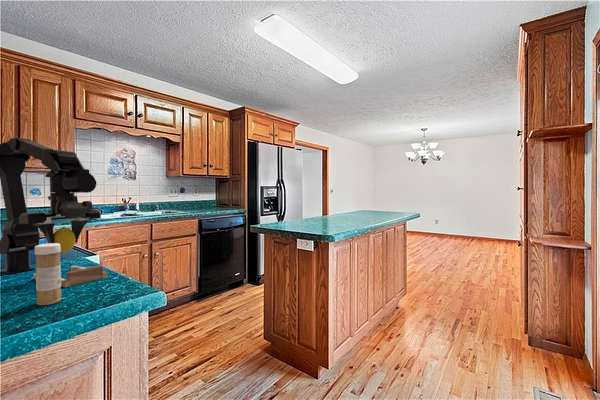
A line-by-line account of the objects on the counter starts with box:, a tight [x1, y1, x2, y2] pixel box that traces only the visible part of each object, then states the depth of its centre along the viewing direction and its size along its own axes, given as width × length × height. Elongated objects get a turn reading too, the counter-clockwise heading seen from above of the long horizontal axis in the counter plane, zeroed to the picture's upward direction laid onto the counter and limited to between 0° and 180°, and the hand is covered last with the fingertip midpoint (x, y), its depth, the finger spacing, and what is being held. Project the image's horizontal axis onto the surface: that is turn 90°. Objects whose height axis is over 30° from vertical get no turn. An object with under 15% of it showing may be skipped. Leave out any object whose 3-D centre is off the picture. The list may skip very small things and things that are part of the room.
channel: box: [33, 265, 108, 288], centre depth 89 cm, size 17×11×4 cm, turn 63°
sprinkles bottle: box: [34, 243, 62, 306], centre depth 69 cm, size 5×5×13 cm
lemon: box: [53, 226, 76, 254], centre depth 90 cm, size 6×6×8 cm
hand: (63, 244), depth 90 cm, fingers closed on lemon, 6 cm apart
